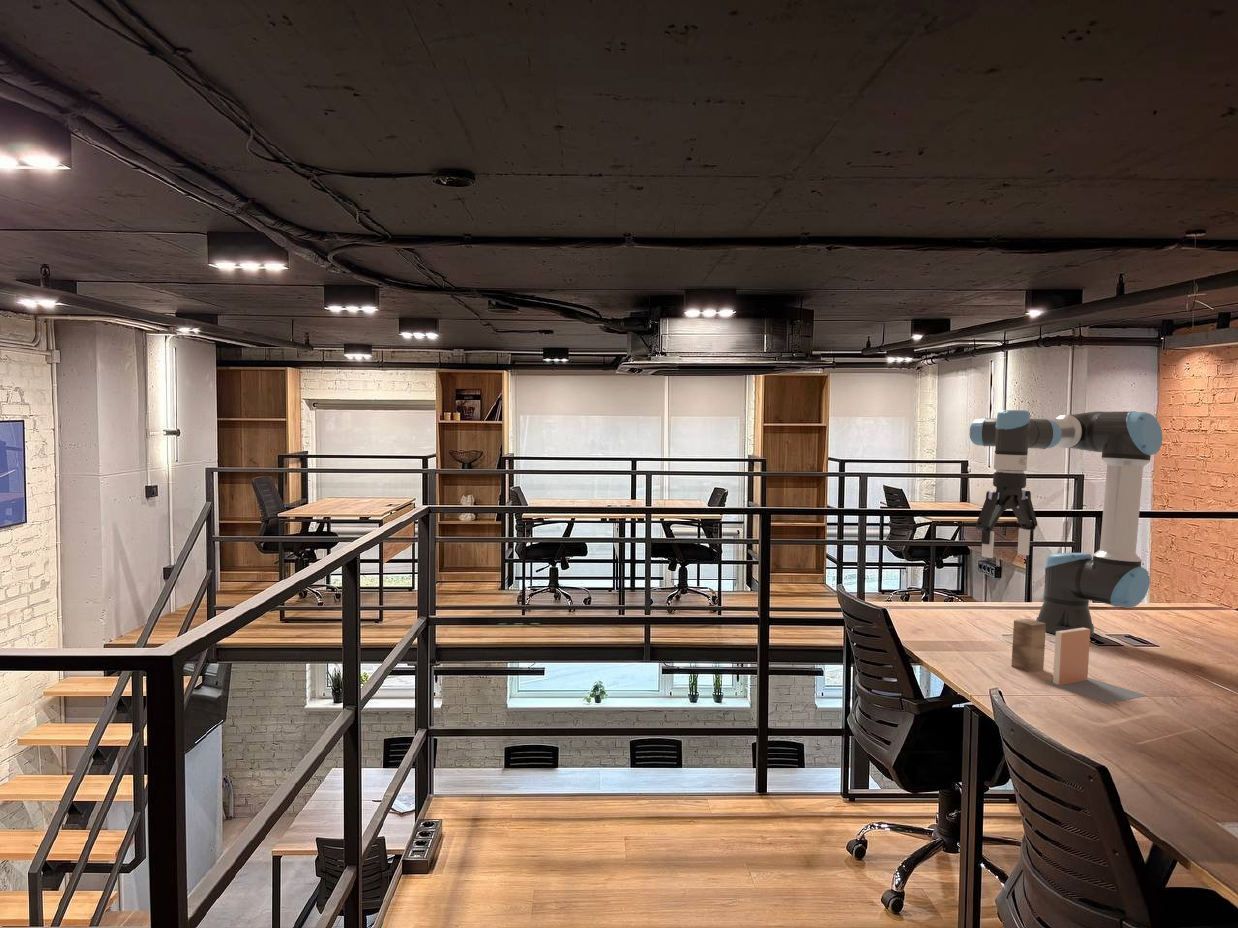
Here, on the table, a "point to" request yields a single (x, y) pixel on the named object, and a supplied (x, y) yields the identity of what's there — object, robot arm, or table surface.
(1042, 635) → the walnut block
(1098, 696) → the slate mat
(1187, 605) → the table surface
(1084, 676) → the tile
